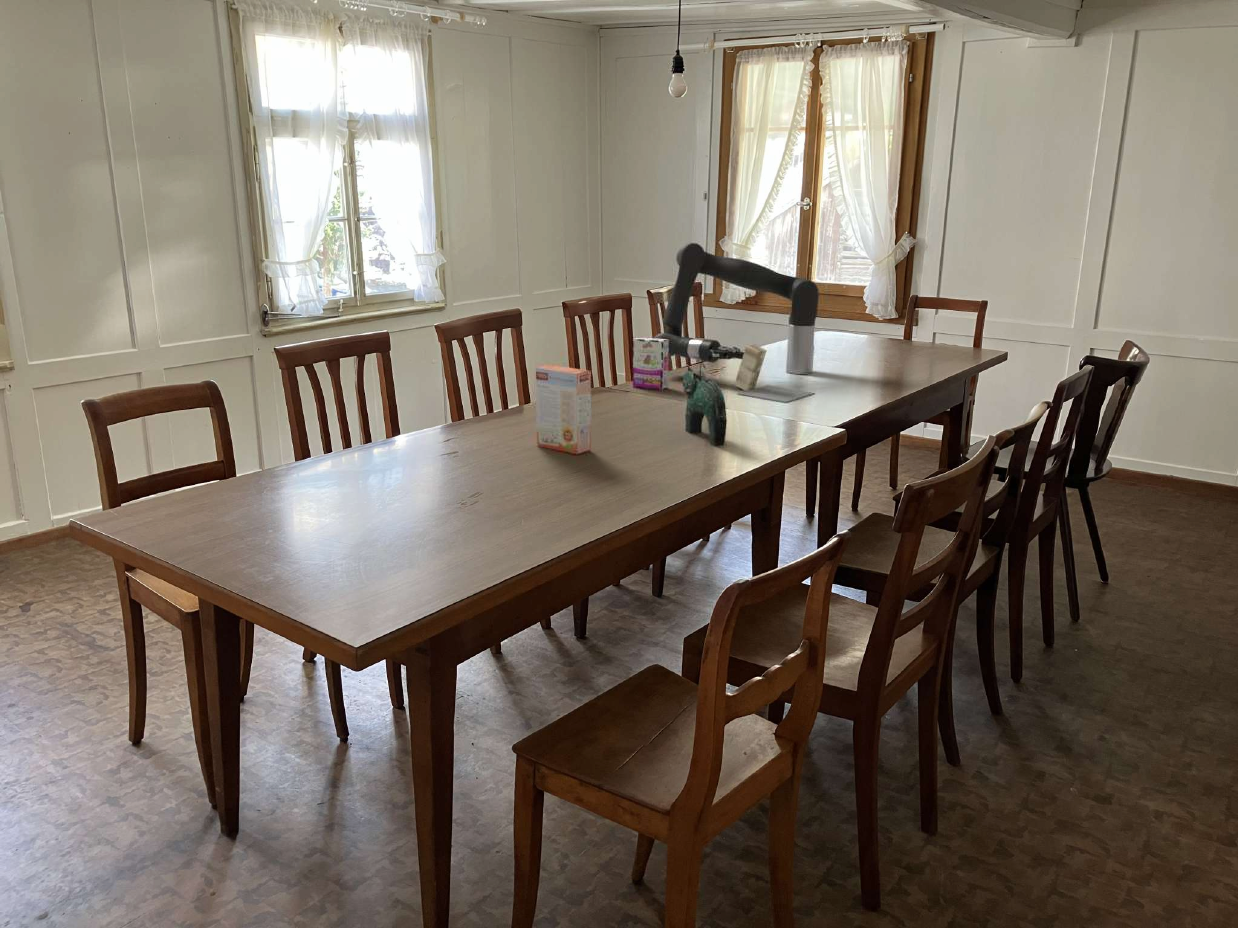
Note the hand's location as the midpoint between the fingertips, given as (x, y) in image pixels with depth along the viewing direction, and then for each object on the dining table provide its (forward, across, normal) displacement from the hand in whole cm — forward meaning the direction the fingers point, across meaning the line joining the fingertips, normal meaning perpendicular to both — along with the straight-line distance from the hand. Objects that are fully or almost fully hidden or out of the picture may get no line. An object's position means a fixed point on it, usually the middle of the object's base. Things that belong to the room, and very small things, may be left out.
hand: (746, 356), depth 320 cm
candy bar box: (-24, -20, +11) cm, 33 cm away
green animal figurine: (+28, -60, +11) cm, 67 cm away
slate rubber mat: (+12, 0, +11) cm, 16 cm away
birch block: (0, 0, +10) cm, 10 cm away
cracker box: (+8, -94, +11) cm, 95 cm away
